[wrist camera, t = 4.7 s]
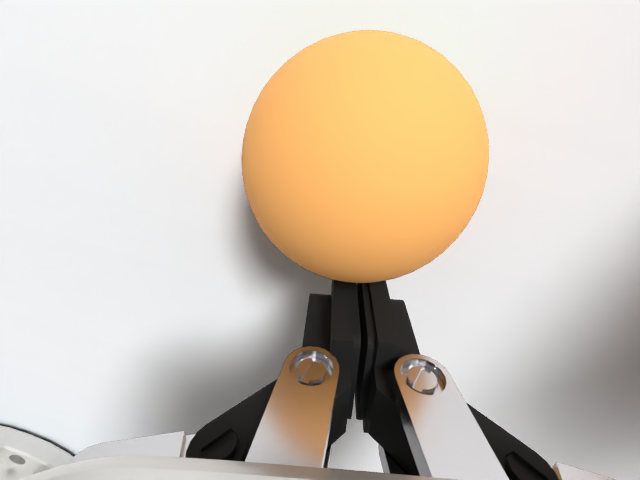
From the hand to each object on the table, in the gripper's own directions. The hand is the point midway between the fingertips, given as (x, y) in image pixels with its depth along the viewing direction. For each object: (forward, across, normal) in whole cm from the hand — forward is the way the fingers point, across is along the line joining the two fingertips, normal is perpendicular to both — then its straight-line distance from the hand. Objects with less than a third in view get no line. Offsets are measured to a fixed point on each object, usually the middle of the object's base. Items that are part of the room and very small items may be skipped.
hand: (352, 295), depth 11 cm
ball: (-1, 0, -5) cm, 5 cm away
